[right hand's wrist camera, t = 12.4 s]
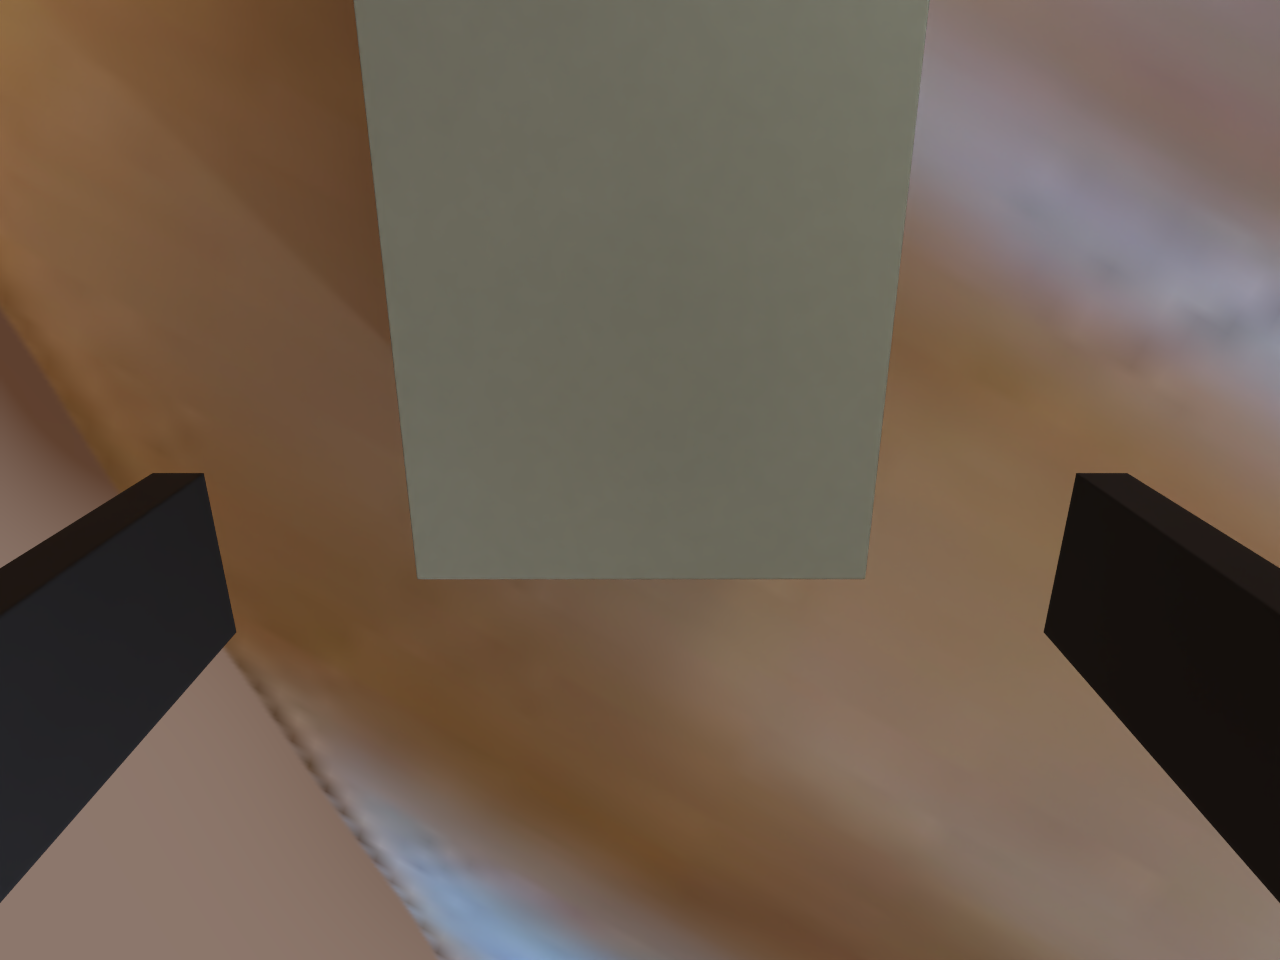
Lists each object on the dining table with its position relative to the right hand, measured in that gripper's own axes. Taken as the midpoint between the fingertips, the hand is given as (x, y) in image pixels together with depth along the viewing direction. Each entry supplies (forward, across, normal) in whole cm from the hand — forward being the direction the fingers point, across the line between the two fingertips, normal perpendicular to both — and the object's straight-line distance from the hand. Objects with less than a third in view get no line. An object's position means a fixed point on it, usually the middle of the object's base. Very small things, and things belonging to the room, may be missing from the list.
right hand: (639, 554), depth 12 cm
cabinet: (+17, 0, -5) cm, 18 cm away
